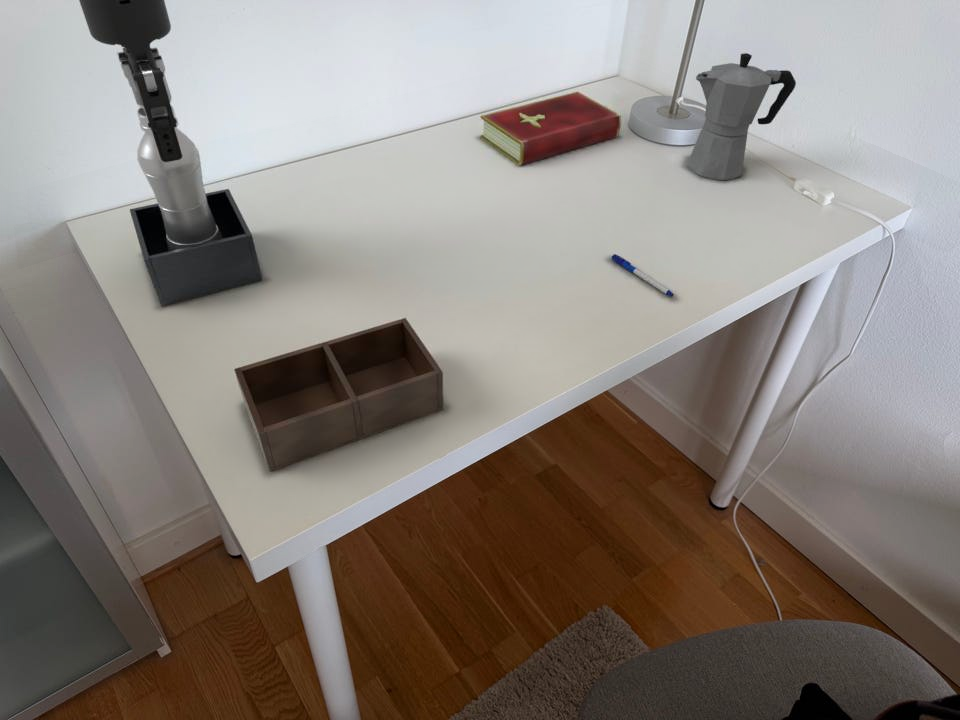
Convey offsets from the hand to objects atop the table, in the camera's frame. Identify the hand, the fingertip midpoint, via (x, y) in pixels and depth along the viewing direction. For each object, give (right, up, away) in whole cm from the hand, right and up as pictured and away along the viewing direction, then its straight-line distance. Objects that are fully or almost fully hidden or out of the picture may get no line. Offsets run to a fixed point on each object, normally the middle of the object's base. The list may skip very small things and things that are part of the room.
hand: (166, 144), depth 77 cm
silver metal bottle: (0, -12, +11) cm, 16 cm away
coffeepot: (+75, +7, +36) cm, 83 cm away
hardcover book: (+47, +14, +42) cm, 65 cm away
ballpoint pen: (+56, -14, +12) cm, 59 cm away
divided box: (+21, -29, -6) cm, 37 cm away
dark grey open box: (0, -12, +11) cm, 17 cm away
